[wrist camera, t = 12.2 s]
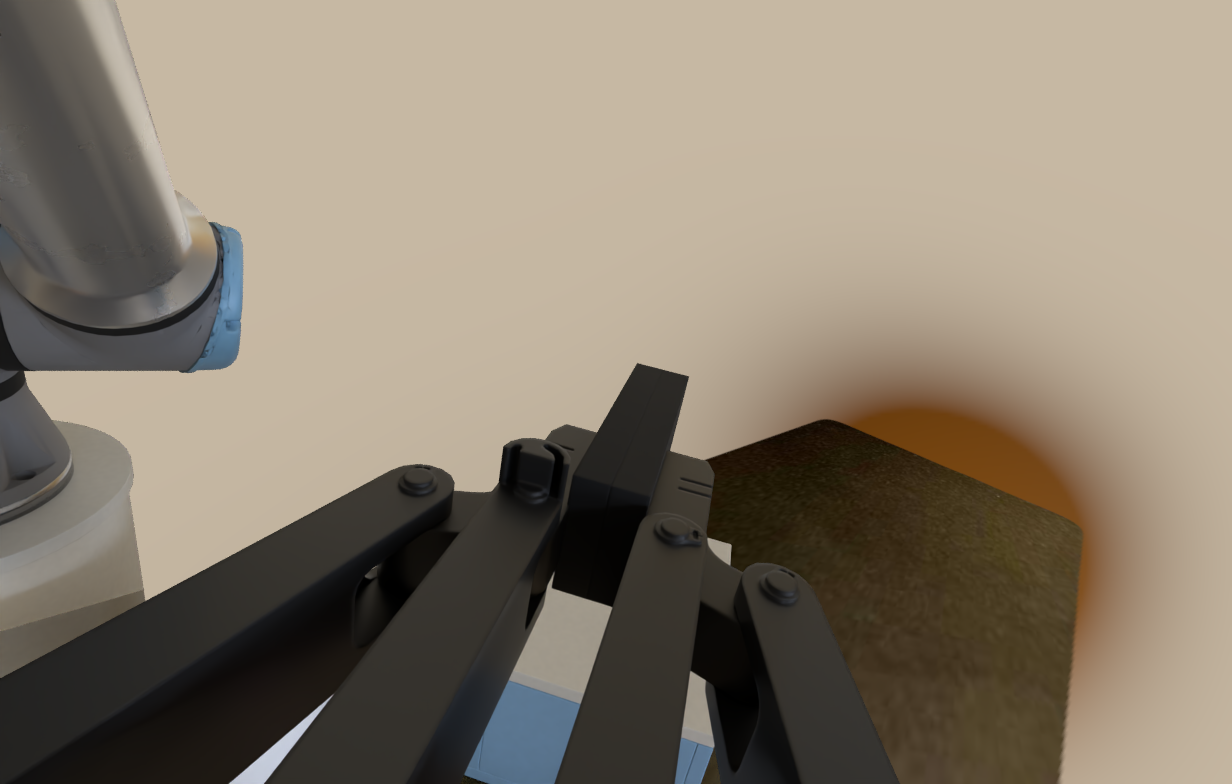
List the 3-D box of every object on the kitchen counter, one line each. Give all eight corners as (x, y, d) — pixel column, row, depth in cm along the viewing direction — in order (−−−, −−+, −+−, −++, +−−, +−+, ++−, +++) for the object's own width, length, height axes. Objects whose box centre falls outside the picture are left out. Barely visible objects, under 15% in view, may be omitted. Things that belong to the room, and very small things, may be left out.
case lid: (567, 506, 47) (569, 497, 47) (728, 553, 46) (731, 544, 45) (477, 670, 32) (479, 659, 32) (713, 748, 31) (717, 737, 30)
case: (548, 597, 50) (564, 512, 47) (701, 644, 48) (728, 560, 45) (463, 775, 36) (477, 671, 32) (676, 851, 34) (713, 749, 31)
